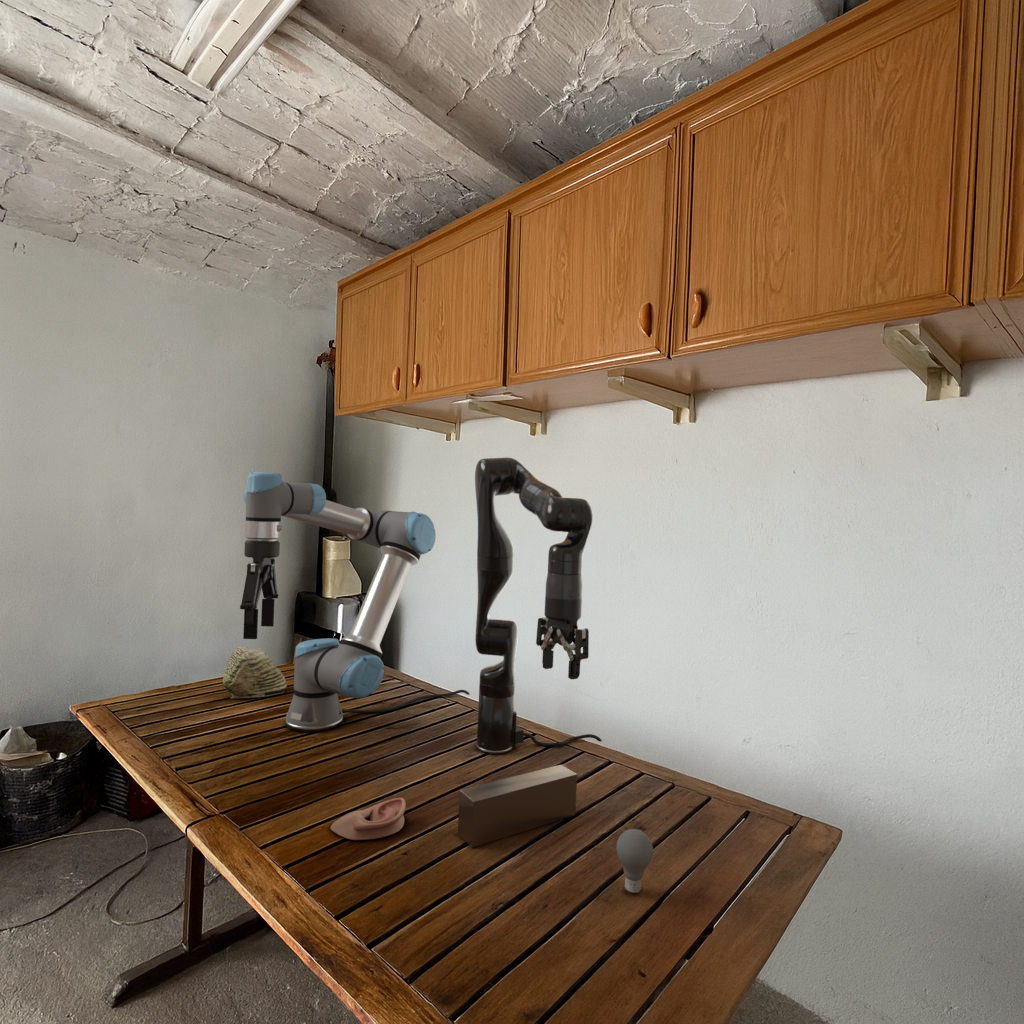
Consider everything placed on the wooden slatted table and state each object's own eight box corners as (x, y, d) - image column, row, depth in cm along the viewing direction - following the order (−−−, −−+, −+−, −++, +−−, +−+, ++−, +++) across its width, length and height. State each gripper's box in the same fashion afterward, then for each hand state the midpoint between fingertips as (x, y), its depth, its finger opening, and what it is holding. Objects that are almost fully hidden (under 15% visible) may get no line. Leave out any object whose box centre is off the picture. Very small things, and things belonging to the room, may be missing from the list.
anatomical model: (323, 814, 118) (350, 787, 130) (322, 835, 118) (350, 806, 130) (389, 824, 116) (412, 796, 127) (389, 846, 116) (411, 816, 127)
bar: (471, 847, 117) (473, 801, 117) (457, 834, 121) (459, 789, 121) (575, 815, 131) (577, 774, 130) (559, 804, 135) (561, 764, 135)
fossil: (218, 695, 195) (220, 647, 195) (278, 685, 208) (279, 640, 207) (228, 703, 189) (230, 653, 188) (289, 692, 201) (290, 645, 201)
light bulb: (610, 879, 108) (613, 822, 108) (644, 879, 109) (647, 822, 109) (619, 902, 102) (622, 840, 102) (655, 901, 103) (658, 840, 103)
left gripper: (264, 544, 133) (260, 645, 133) (292, 536, 158) (289, 621, 158) (227, 543, 132) (223, 644, 132) (261, 535, 157) (257, 621, 157)
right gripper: (600, 599, 126) (597, 680, 126) (556, 589, 138) (553, 663, 138) (571, 601, 122) (567, 685, 122) (528, 590, 134) (525, 667, 134)
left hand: (259, 632), depth 145 cm, fingers open, 13 cm apart
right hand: (560, 673), depth 130 cm, fingers open, 8 cm apart
